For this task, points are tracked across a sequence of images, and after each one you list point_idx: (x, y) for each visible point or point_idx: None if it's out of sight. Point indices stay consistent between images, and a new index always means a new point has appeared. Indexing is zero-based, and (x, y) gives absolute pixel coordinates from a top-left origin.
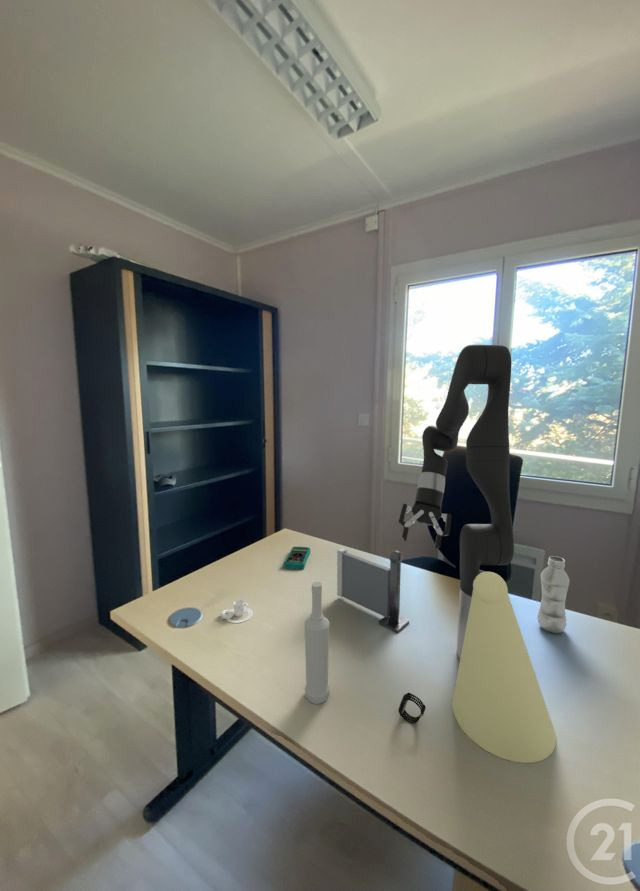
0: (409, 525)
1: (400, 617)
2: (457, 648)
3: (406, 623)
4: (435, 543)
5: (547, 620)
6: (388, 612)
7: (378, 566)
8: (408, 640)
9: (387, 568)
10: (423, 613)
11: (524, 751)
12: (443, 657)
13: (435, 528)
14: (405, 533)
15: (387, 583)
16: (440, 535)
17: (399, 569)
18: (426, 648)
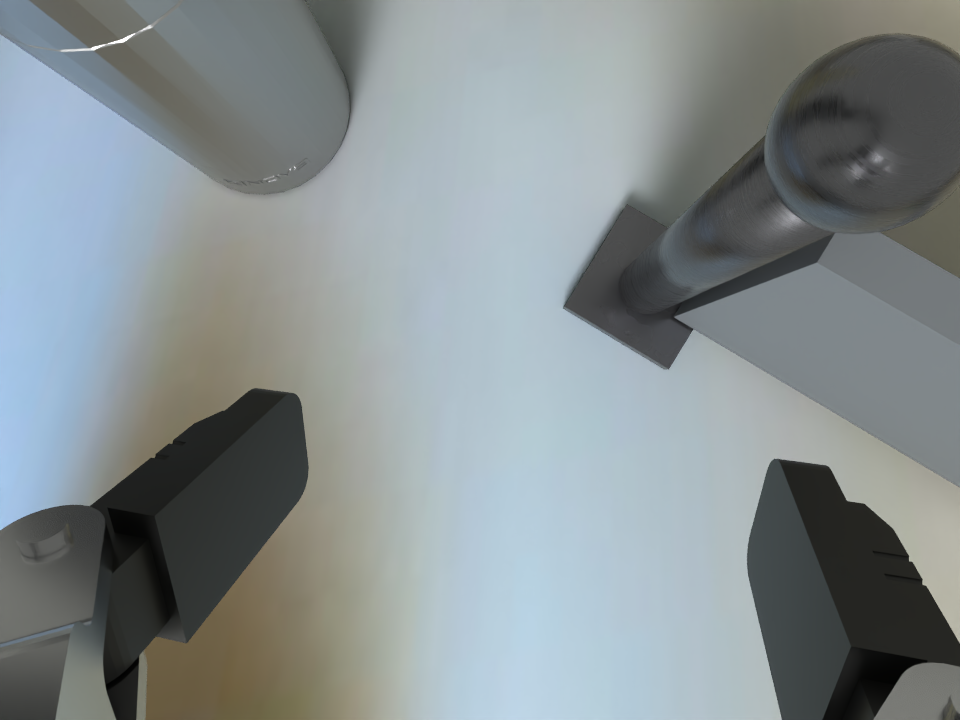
0: (879, 710)
1: (612, 323)
2: (341, 86)
3: (578, 283)
4: (261, 459)
5: None
6: (690, 299)
7: (957, 289)
8: (569, 162)
9: (856, 263)
10: (479, 417)
11: None
12: (414, 75)
13: (101, 669)
14: (864, 539)
15: None
16: (84, 520)
17: (747, 154)
18: (486, 121)
